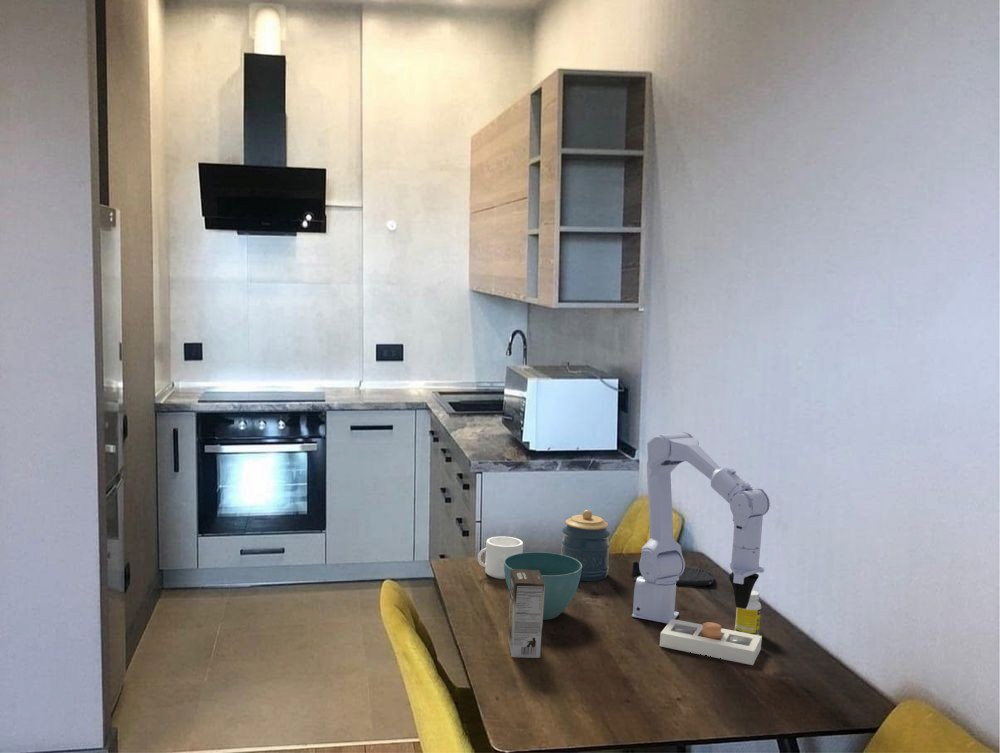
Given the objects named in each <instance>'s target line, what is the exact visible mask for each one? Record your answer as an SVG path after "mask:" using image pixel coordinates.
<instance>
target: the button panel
mask: <svg viewBox="0 0 1000 753" xmlns="http://www.w3.org/2000/svg"><path fill="white" fill-rule="evenodd" d="M677 626H687V627H690V628H692V629H693V635H690V634H685V633H680V632H675V627H677ZM702 626H703V623H702V624H700V623H695V622H691V621H687V620H686V621H685V620H680V619H677V618H675V619H671V620H670V622H669V623H668V624H667V623H666V626H665V627H664V628H663V629H662V630H661V631H660V633H659V635H660V636H659V647H661V648H662V647H663V648H667V649H672V650H677V651H682V652H685V653H690V652H691V654H697V655H700V654H701V655H700V656H705V655H707V656H706V657H710V656H711V657H710V658H716V659H720V658H721V659H720V660H726V661H730V662H735V663H740V664H746V665H751V666H754V664H755V662H756V660H757V658H758V656H759V654H760V652H761V650H762V640H763V639H762V638H763V636H762V635H760V634H759V635H754V634H749V633H743V632H738V631H735V630H734V629H733V630H731V629H727V628H722V627H721V638H720V640H715V639H710V638H705V637H702ZM734 636H737V637H743V638H746V639H748V641H749V644H748V646H746V645H741V644H736V643H731V642H729V641H730V637H734Z"/></svg>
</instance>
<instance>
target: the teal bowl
mask: <svg viewBox="0 0 1000 753" xmlns="http://www.w3.org/2000/svg"><path fill="white" fill-rule="evenodd" d="M512 569H524V570H539V571H540V573H541V576H542V578H543V581H544V583H545V591H544V608H543V620H547V621H548V620H552V619H556V618H557V617H559V615H561V614H562V613H563V611H564V610H565V609H566V608H567V607H568V606H569V604H570V603H571V602H572V600H573V598H574V596H575V593H576V591H577V589H578V586H579V583H580V582H581V581H580V577H581V571H582V564H581V563H580V562H579V561H578V560H576V559H574V558H572V557H569V556H566V555H561V553H555V552H545V551H528V552H527V551H526V552H523V553H519V554H515V555H511V556H509V557H507V558H506V559H505V560H504V571H505V578H506V579H505V582H506V586H507V588H508V591H509V593H510V581H511V570H512Z"/></svg>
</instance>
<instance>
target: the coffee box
mask: <svg viewBox="0 0 1000 753" xmlns="http://www.w3.org/2000/svg"><path fill="white" fill-rule="evenodd" d="M544 591H545V583H544V581H543V578H542V576H541V573H540V571H539V570H524V569H512V570H511V581H510V592H509V604H508V605H509V608H508V625H507V626H508V628H507V629H508V630H507V643H508V648H509V650H510V656H511V658H528V659H529V658H532V659H533V658H534V659H535V658H536V659H537V658H538V659H539V658H541V653H542V639H543V637H542V636H543V623H544V622H543V608H544Z"/></svg>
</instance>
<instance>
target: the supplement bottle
mask: <svg viewBox="0 0 1000 753" xmlns="http://www.w3.org/2000/svg"><path fill="white" fill-rule="evenodd" d="M759 600H760V593H759V592H758V591H757V590H754V589H752V592H751V596H750V599H749V603H748V606H747V608H746V609H743V608H738V607H736V611H735V622H734V623H735V624H734V631H738V632H743V633H749V634H754V635H759V636H760V628H761V627H760V626H761V624H760V623H761V614H762V604H761V603H760V601H759Z"/></svg>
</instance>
